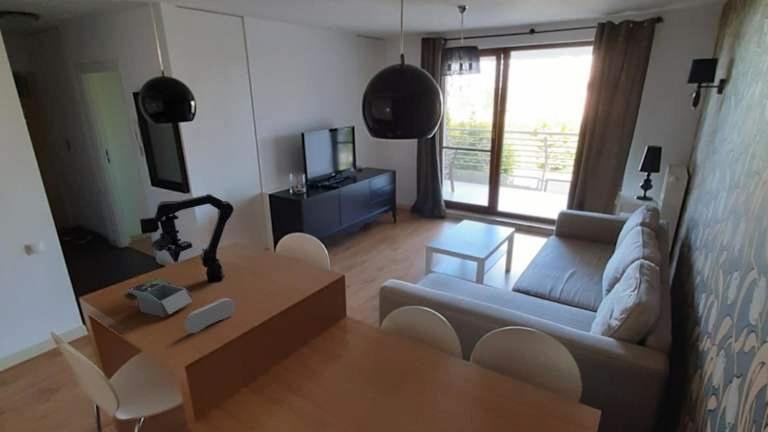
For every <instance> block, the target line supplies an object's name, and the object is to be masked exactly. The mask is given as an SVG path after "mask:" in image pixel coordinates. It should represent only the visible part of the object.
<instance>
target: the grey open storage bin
mask: <svg viewBox="0 0 768 432" xmlns="http://www.w3.org/2000/svg"><path fill="white" fill-rule="evenodd" d="M144 293H148V294H150V295H152V296H153V297H155V298H156V299H158V300H159V302H158V301H154V300H150V299H146V298H142V297H138V296H137V300H136V301H135V302H136V303H135V306H136V307H138V306H139V311H140V312H141V313H145V314H148V315H153V316H156V317H160V318H163V319H164V318H166V317H167V316H169V315H171V314H173V313H175V312H176V311H178V310H180V309H182V308H183V307H185V306H187V305H188V304H191V303H192V302H193V300H192V298H191V297H194V295H193V294H192V293H191V292H190V291H189V290H188V289H187V288H185V287H183V286H178V285H172V284H170V285H168V284H161V285H159V286H157V287H154V288H152V289H150V290H148V291H146V292H144Z"/></svg>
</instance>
